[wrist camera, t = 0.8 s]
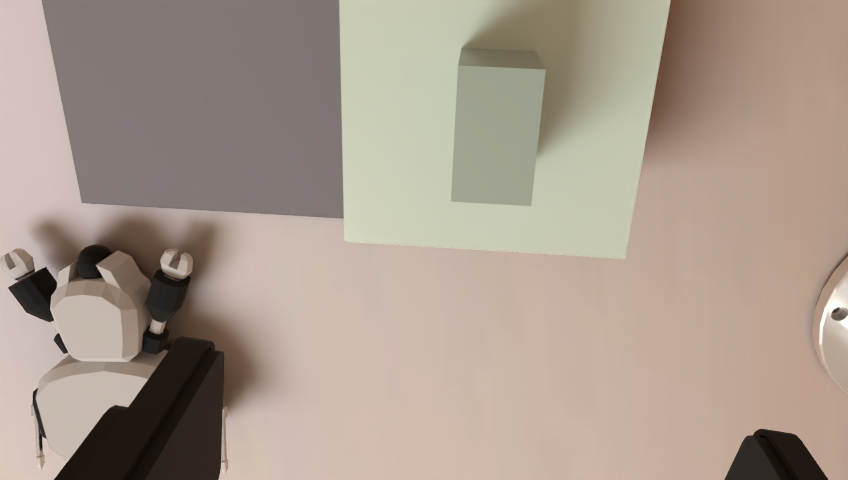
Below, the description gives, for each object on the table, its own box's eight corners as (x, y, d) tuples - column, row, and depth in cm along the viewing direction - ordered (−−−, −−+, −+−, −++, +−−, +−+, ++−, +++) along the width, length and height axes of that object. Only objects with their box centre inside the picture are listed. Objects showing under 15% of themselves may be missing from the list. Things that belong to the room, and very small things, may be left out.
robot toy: (21, 230, 39) (75, 437, 44) (-35, 257, 35) (32, 483, 40) (217, 229, 38) (249, 441, 43) (184, 256, 34) (224, 489, 39)
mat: (340, -86, 30) (338, -87, 29) (346, 215, 36) (344, 218, 35) (27, -96, 30) (22, -97, 30) (86, 200, 37) (82, 203, 36)
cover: (675, -53, 25) (721, -55, 20) (622, 253, 30) (648, 308, 25) (340, -64, 25) (310, -68, 21) (346, 236, 31) (323, 286, 26)
